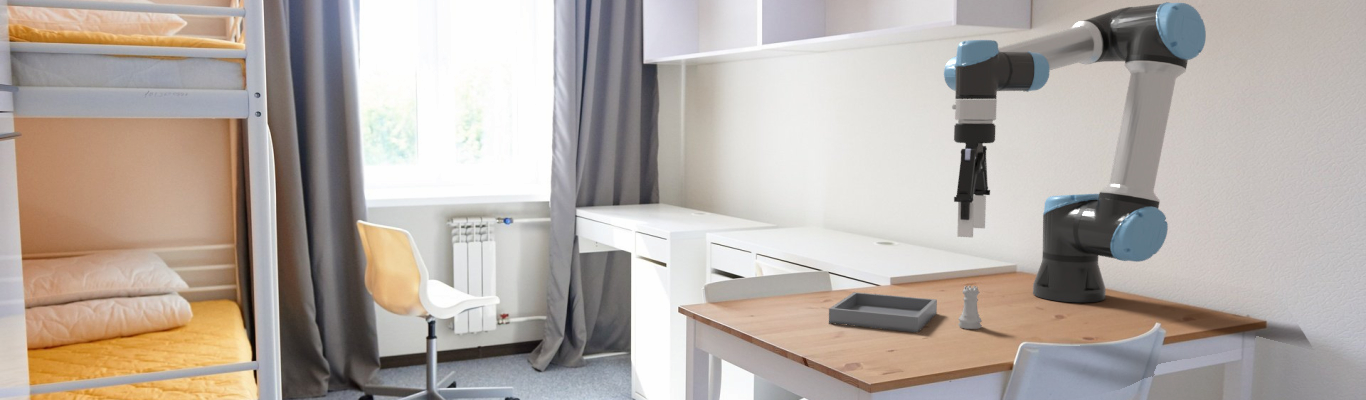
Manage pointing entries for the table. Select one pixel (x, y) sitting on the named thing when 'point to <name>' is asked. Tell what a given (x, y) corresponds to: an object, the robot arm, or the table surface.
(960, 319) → the rook chess piece
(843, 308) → the tray
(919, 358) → the table surface
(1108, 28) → the robot arm
